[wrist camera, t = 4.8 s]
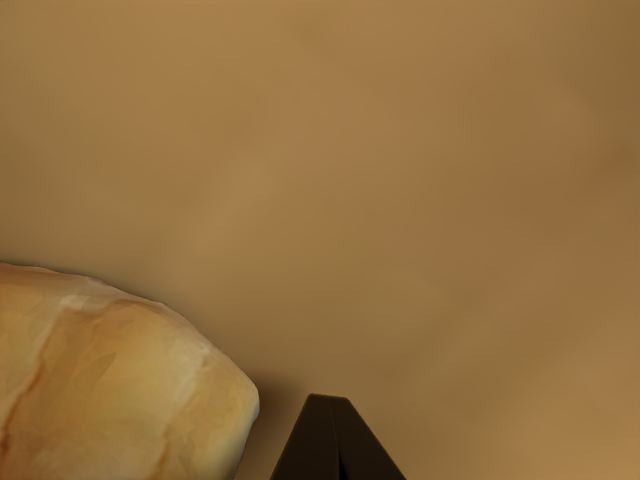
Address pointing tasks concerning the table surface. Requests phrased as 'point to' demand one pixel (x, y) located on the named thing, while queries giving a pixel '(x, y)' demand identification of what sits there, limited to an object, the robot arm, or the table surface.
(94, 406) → the pastry
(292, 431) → the robot arm
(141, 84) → the table surface
